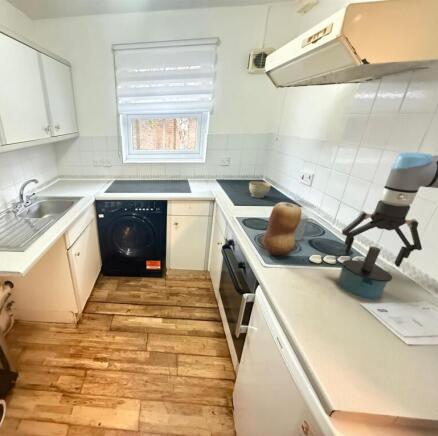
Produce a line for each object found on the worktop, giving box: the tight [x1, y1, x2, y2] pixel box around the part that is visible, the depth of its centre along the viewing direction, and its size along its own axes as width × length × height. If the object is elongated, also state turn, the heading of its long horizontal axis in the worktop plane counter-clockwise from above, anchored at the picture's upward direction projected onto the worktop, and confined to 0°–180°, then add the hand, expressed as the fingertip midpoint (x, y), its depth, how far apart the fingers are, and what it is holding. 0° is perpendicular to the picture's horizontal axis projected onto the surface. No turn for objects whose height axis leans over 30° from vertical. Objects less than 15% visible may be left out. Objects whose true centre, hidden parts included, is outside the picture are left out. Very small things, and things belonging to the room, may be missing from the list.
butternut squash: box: [262, 201, 303, 256], centre depth 109 cm, size 14×13×25 cm
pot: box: [337, 259, 389, 300], centre depth 88 cm, size 13×18×8 cm
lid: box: [342, 246, 393, 283], centre depth 84 cm, size 14×14×10 cm
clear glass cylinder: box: [294, 212, 310, 241], centre depth 128 cm, size 10×10×12 cm
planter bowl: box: [248, 181, 272, 199], centre depth 194 cm, size 16×16×11 cm
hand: (370, 258), depth 85 cm, fingers open, 13 cm apart
